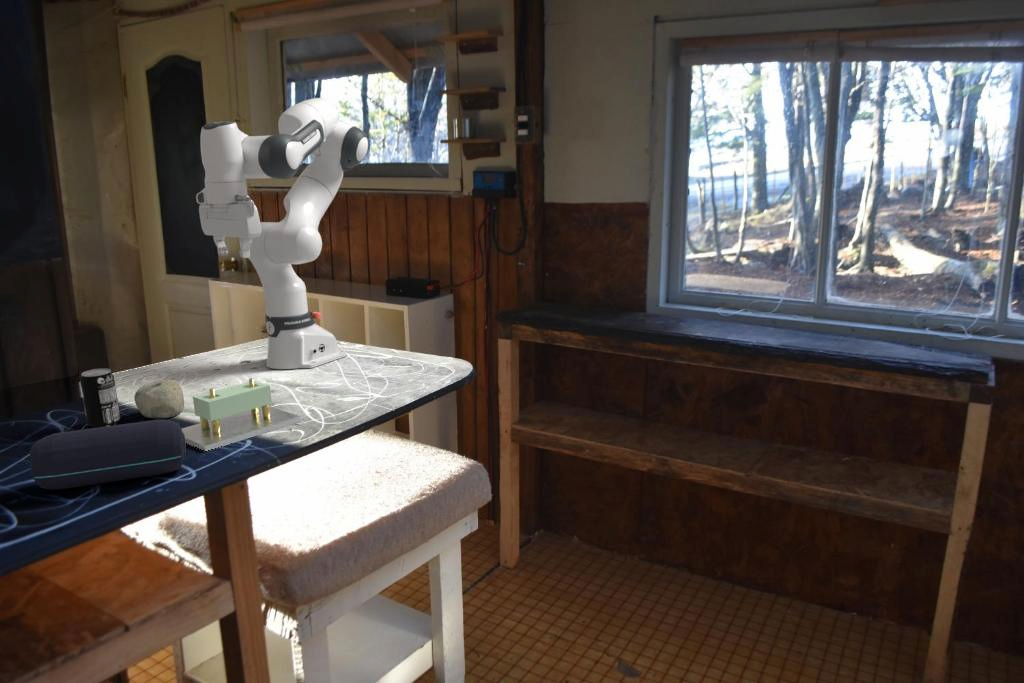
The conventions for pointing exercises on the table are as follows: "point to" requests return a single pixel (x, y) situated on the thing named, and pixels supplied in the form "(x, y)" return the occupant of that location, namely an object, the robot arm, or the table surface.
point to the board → (232, 400)
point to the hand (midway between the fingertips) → (234, 256)
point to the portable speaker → (107, 454)
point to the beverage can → (100, 398)
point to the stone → (160, 399)
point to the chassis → (237, 426)
